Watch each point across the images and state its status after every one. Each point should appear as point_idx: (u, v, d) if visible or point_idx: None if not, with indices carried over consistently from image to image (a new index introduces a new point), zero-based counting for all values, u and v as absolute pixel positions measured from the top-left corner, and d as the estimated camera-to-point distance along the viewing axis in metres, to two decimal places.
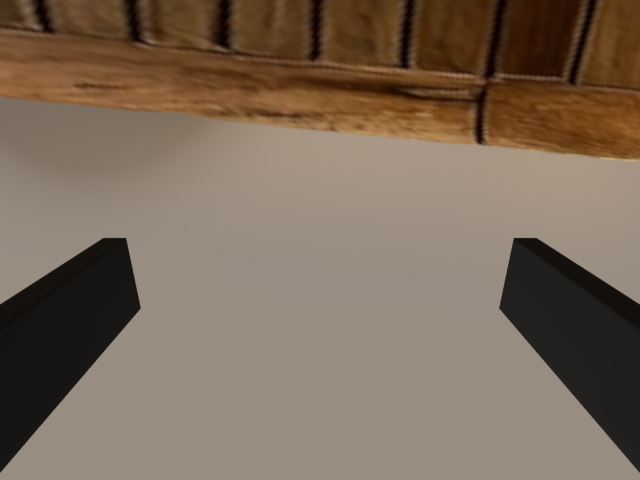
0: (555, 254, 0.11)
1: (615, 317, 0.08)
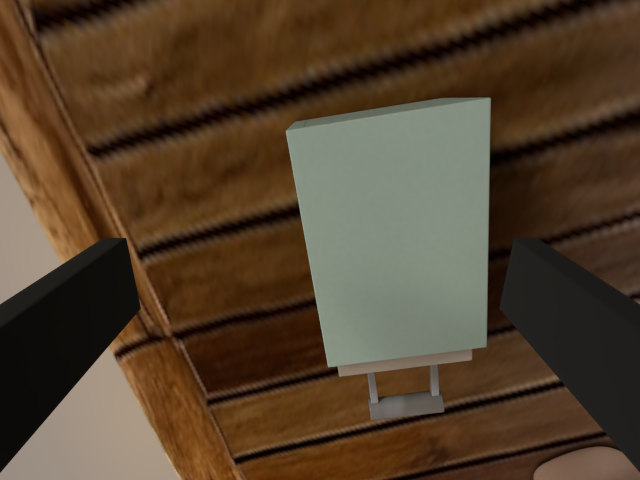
0: (555, 254, 0.11)
1: (615, 317, 0.08)
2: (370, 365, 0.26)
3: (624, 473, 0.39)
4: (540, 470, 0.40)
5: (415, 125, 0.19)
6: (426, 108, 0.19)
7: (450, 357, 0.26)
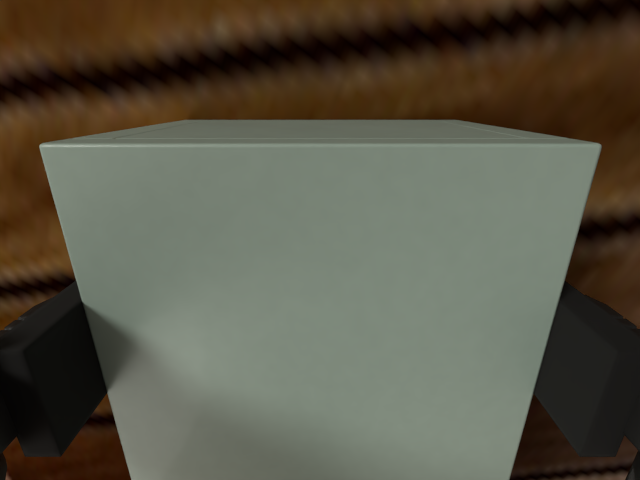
0: None
1: None
2: None
3: None
4: None
5: (392, 184, 0.07)
6: (428, 144, 0.07)
7: None
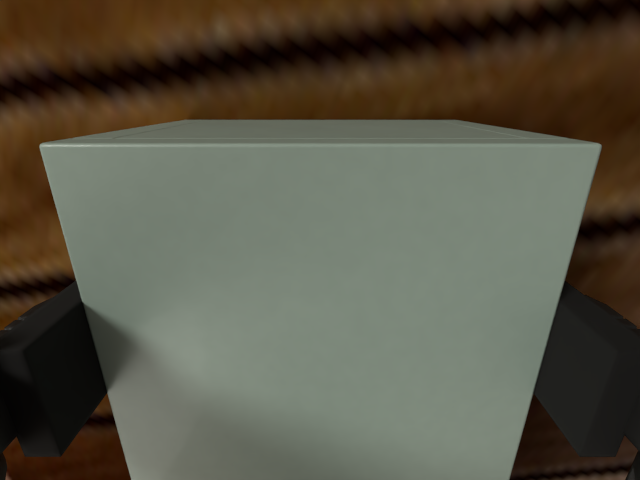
0: None
1: None
2: None
3: None
4: None
5: (392, 184, 0.07)
6: (428, 144, 0.07)
7: None
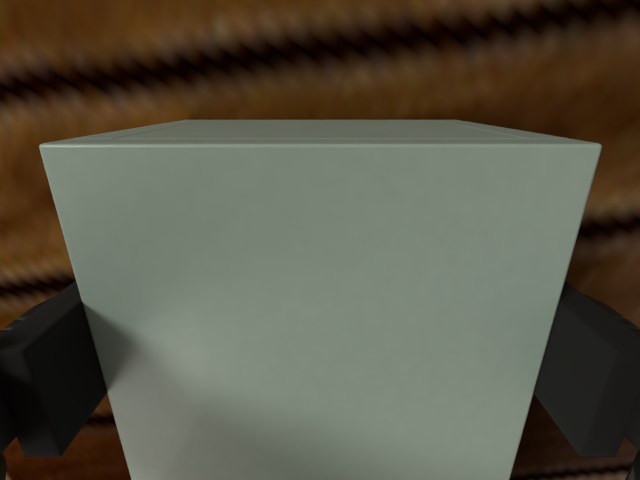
0: None
1: None
2: None
3: None
4: None
5: (392, 185, 0.07)
6: (428, 145, 0.07)
7: None
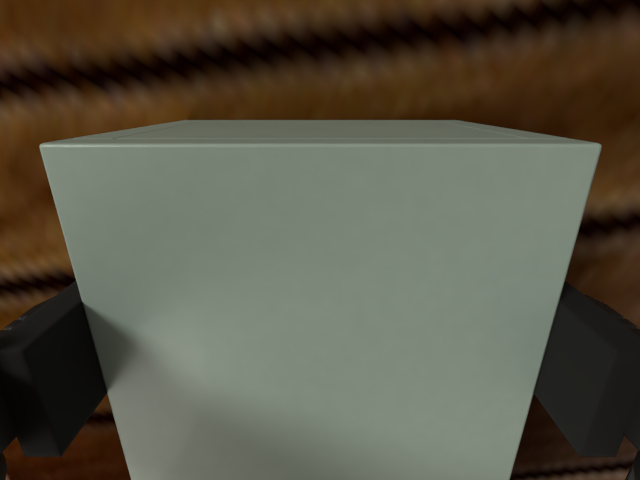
0: None
1: None
2: None
3: None
4: None
5: (392, 185, 0.07)
6: (428, 145, 0.07)
7: None
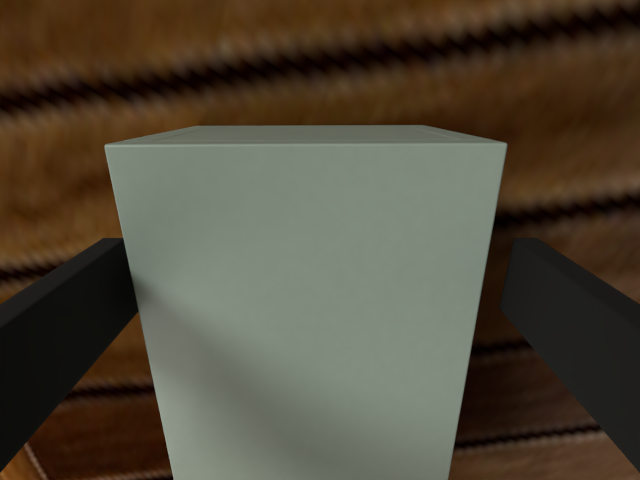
0: (555, 254, 0.11)
1: (615, 317, 0.08)
2: None
3: None
4: None
5: (360, 173, 0.10)
6: (384, 144, 0.10)
7: None
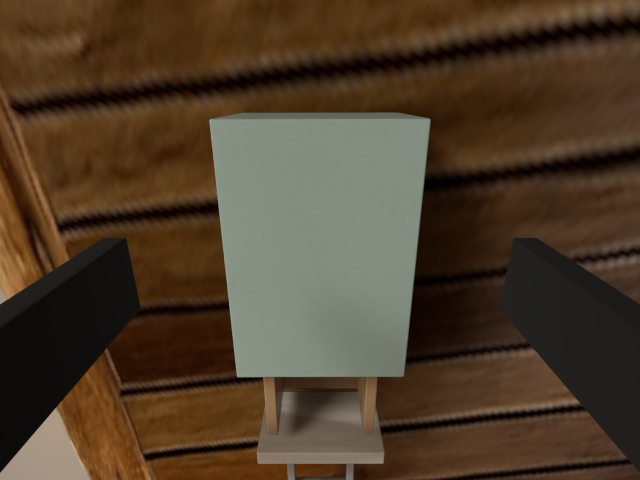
0: (555, 254, 0.11)
1: (615, 317, 0.08)
2: (288, 457, 0.28)
3: None
4: None
5: (349, 135, 0.18)
6: (362, 119, 0.18)
7: (363, 459, 0.28)
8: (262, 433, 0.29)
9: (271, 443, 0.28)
